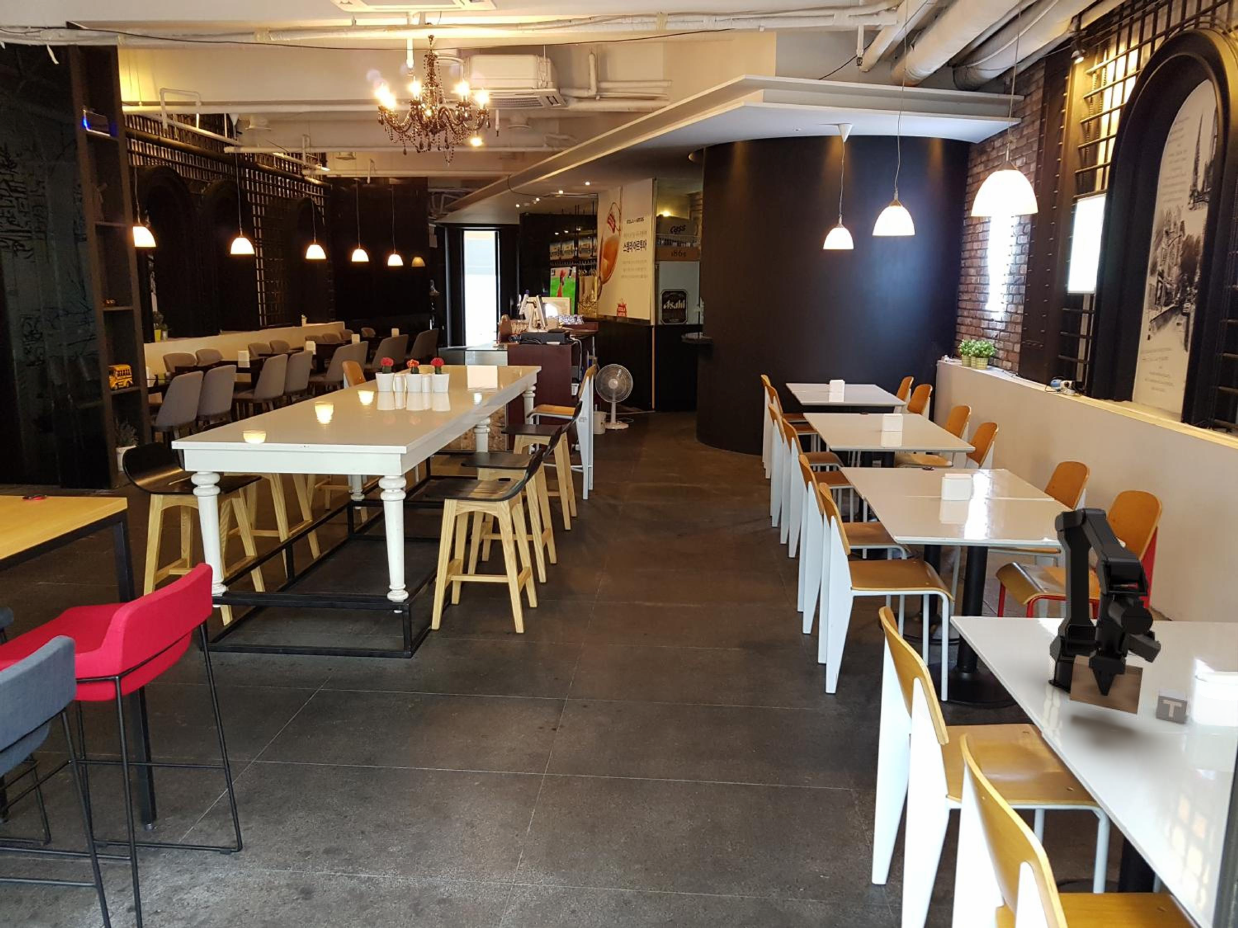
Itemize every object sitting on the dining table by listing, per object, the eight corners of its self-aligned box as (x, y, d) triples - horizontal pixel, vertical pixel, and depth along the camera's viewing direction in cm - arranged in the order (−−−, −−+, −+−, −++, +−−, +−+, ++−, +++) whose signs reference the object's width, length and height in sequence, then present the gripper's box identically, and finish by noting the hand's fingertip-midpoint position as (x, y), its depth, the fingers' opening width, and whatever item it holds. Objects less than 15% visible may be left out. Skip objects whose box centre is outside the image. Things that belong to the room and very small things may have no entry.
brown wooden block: (1069, 699, 184) (1073, 662, 183) (1072, 690, 188) (1076, 654, 187) (1137, 714, 178) (1142, 676, 177) (1138, 705, 182) (1143, 667, 181)
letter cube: (1156, 708, 192) (1159, 686, 191) (1184, 714, 189) (1187, 692, 188) (1156, 718, 187) (1159, 695, 186) (1184, 724, 185) (1187, 701, 184)
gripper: (1159, 639, 168) (1149, 718, 171) (1162, 611, 184) (1152, 683, 186) (1092, 627, 174) (1083, 703, 176) (1100, 601, 189) (1092, 671, 192)
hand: (1105, 690), depth 183 cm, fingers closed on brown wooden block, 5 cm apart
